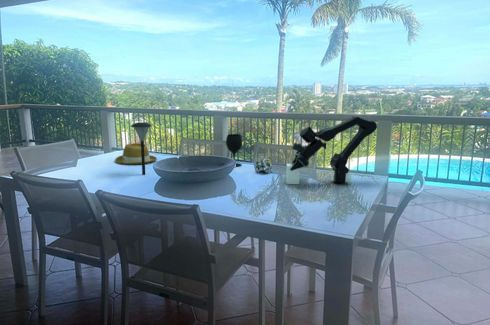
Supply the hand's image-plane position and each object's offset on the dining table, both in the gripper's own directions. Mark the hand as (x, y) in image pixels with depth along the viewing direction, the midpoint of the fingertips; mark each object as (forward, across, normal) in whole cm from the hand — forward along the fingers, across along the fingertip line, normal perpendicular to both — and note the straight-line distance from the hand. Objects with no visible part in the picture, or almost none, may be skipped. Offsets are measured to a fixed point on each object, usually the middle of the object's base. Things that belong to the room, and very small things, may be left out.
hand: (290, 168), depth 196 cm
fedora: (+78, -47, -66) cm, 113 cm away
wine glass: (+30, -42, -19) cm, 55 cm away
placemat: (+4, -4, +7) cm, 9 cm away
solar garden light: (+65, -10, -54) cm, 85 cm away
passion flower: (+17, -24, -5) cm, 29 cm away
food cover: (+4, 0, +6) cm, 8 cm away
